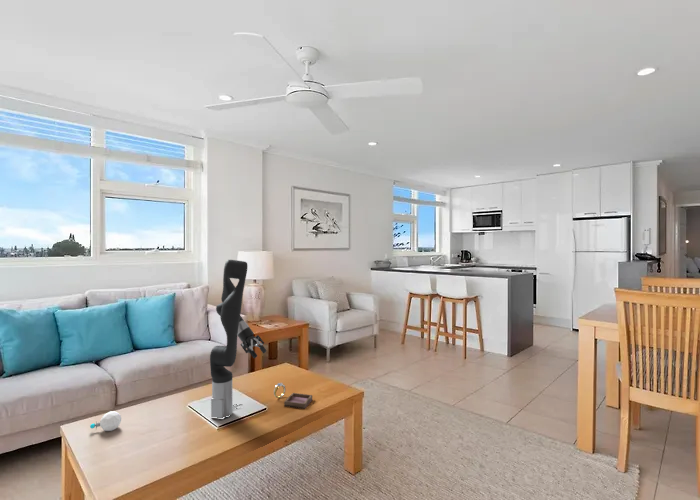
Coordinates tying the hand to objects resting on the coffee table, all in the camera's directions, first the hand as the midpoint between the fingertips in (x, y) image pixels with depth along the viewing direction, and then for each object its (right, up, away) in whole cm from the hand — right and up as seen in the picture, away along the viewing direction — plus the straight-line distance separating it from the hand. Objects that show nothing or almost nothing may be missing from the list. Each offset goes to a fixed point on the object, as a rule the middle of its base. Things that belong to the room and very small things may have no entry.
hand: (260, 354), depth 201 cm
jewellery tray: (+21, -23, -8) cm, 32 cm away
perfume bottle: (-59, -23, -36) cm, 73 cm away
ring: (+11, -23, -2) cm, 25 cm away
